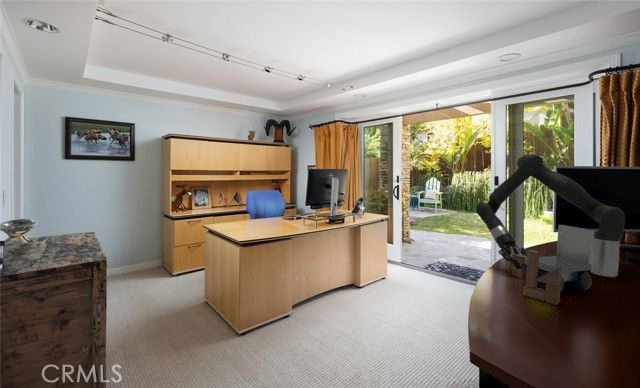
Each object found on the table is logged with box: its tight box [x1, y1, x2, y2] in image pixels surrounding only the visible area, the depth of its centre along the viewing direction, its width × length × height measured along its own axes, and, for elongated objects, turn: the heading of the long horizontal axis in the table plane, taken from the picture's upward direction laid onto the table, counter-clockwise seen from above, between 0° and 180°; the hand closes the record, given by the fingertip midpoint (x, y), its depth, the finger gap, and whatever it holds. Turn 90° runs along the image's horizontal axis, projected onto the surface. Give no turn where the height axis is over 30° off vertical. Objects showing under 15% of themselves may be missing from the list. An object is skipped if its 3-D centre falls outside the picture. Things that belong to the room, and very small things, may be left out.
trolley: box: [523, 224, 595, 293], centre depth 126 cm, size 20×16×25 cm
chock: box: [511, 254, 528, 280], centre depth 139 cm, size 4×5×10 cm
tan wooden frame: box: [522, 249, 562, 306], centre depth 114 cm, size 4×11×18 cm, turn 36°
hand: (523, 268), depth 138 cm, fingers closed on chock, 4 cm apart
